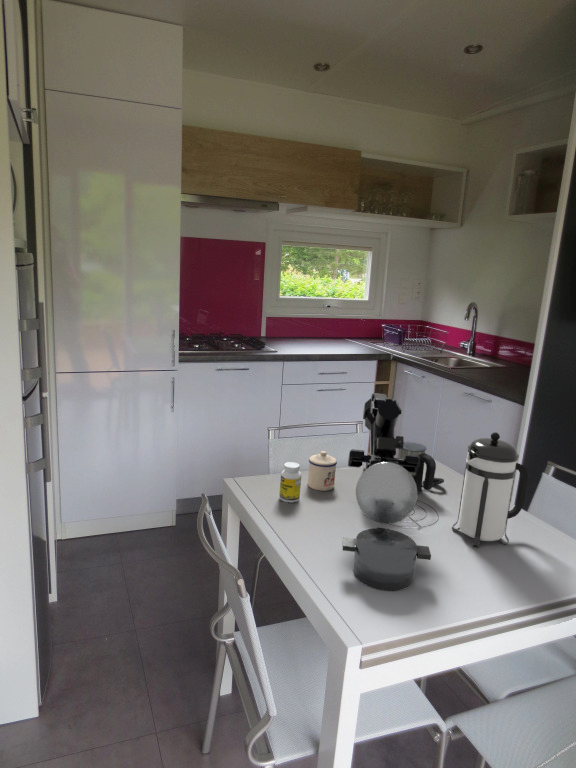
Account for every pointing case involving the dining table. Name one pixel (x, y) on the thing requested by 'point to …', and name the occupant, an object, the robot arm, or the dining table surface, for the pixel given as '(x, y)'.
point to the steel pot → (385, 558)
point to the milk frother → (421, 465)
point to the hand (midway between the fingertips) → (382, 490)
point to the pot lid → (386, 492)
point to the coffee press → (490, 489)
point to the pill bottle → (290, 482)
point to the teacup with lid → (321, 471)
